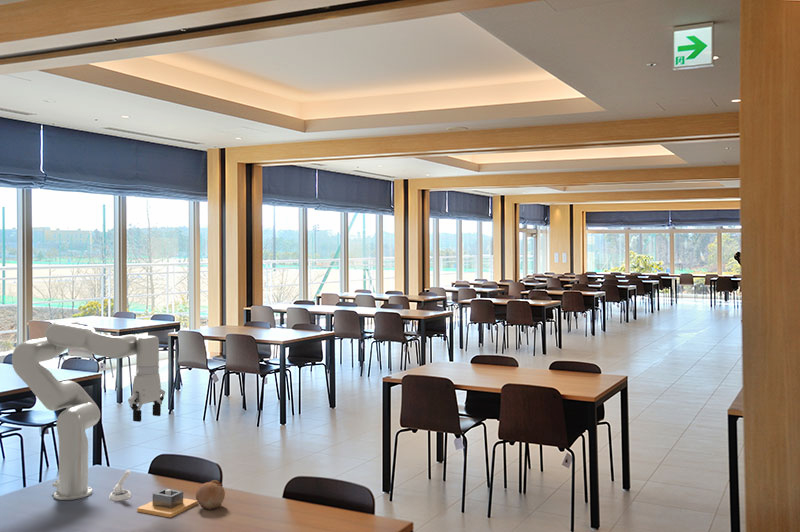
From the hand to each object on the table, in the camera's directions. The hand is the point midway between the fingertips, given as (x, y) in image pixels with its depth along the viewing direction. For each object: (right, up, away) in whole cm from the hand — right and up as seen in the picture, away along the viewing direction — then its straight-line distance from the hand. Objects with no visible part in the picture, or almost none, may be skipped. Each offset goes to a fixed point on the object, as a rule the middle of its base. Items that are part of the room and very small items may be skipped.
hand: (147, 418), depth 245 cm
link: (+11, -27, -10) cm, 31 cm away
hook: (-10, -29, +1) cm, 30 cm away
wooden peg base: (+11, -28, -10) cm, 32 cm away
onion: (+25, -29, -9) cm, 39 cm away
